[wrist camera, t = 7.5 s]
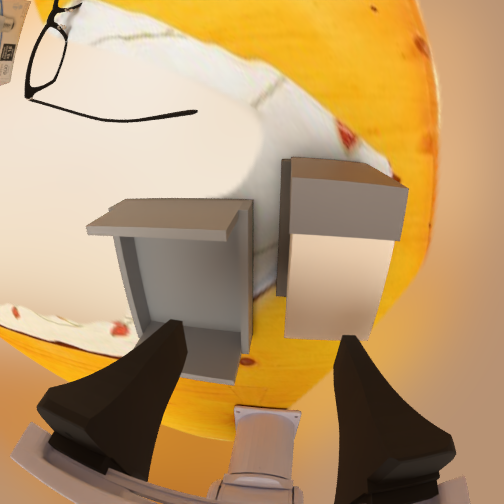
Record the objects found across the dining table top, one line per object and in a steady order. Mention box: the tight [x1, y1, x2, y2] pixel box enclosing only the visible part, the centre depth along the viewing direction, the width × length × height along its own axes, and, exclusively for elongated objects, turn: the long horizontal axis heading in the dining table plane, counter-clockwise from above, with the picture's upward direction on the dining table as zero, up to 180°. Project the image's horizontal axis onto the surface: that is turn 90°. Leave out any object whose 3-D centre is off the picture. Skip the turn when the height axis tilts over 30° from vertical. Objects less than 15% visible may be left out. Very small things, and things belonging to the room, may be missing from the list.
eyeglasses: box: [25, 0, 198, 123], centre depth 13 cm, size 16×16×4 cm
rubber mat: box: [276, 159, 291, 297], centre depth 19 cm, size 10×6×1 cm, turn 0°
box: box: [284, 157, 409, 341], centre depth 15 cm, size 8×5×7 cm, turn 0°
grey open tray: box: [86, 198, 253, 385], centre depth 20 cm, size 12×10×6 cm
